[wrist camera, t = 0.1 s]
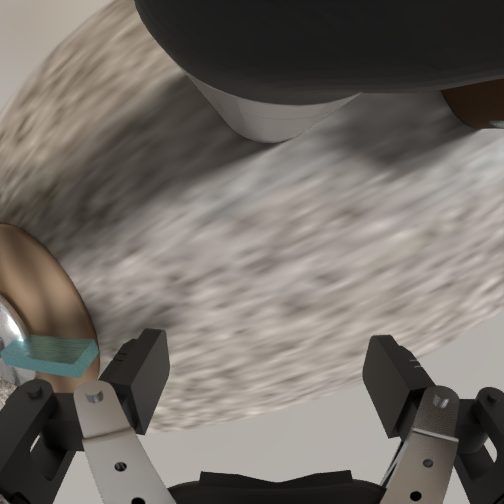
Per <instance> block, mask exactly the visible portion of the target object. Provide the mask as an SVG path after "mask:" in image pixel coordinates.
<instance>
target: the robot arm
mask: <svg viewBox="0 0 504 504" xmlns="http://www.w3.org/2000/svg"><path fill="white" fill-rule="evenodd" d="M134 1H135V5H136V9H137V11H138V13H139V15H140V18H141V20H142V21H143V23H144V25H145V26H146V28H147V29H148V31H149V32H150V34H151V35H152V36H153V37H154V39H155V40H156V41H157V42H158V44H159V45H160V46H161V47H162V48H163V49H164V50H165V51H166V53H167V54H168V55H169V56H170V57H171V58H172V59H173V60H174V61H175V63H176V64H177V65H178V66H179V67H180V68H181V69H182V71H183V72H184V73H185V74H186V75H187V76H188V77H189V78H190V79H191V81H192V82H193V83H194V84H195V85H196V86H197V88H198V89H199V90H200V91H201V92H202V94H203V95H204V96H205V97H206V98H207V100H208V101H209V102H210V103H211V104H212V106H213V107H214V108H215V109H216V111H217V112H218V113H219V114H220V116H221V117H222V118H223V119H224V121H225V122H226V123H227V124H228V125H229V126H230V127H231V128H232V129H233V130H234V131H235V132H236V133H238V134H240V135H241V136H243V137H245V138H247V139H250V140H253V141H256V142H262V143H279V142H283V141H287V140H290V139H292V138H295V137H296V136H298V135H300V134H301V133H303V132H304V131H306V130H307V129H309V128H310V127H312V126H313V125H315V124H316V123H318V122H319V121H321V120H322V119H324V118H325V117H327V116H328V115H330V114H331V113H333V112H334V111H336V110H337V109H339V108H340V107H342V106H343V105H345V104H346V103H348V102H349V101H351V100H352V99H354V98H355V97H357V96H358V95H360V94H361V93H416V92H428V91H436V90H443V89H448V88H453V87H459V86H464V85H469V84H474V83H479V82H484V81H489V80H495V79H501V78H504V0H134ZM169 371H170V362H169V354H168V346H167V337H166V332H165V331H164V330H159V329H150V328H146V329H144V331H143V332H142V334H141V335H140V337H139V338H138V339H132V340H130V341H128V342H127V343H125V344H124V345H123V346H122V347H121V348H120V350H119V351H118V352H117V354H116V355H115V357H114V358H113V360H112V361H111V362H110V364H109V365H108V366H107V368H106V369H105V371H104V372H103V373H102V375H101V376H100V378H99V379H98V380H93V381H88V382H85V383H83V384H81V385H80V386H78V387H77V388H76V390H75V392H74V393H55V392H54V390H53V387H52V385H51V384H50V383H49V382H48V381H46V380H43V379H33V380H29V381H27V382H25V383H24V384H22V385H21V386H20V387H19V389H18V390H17V391H16V392H15V393H14V395H13V396H12V397H11V398H10V399H9V401H8V402H7V403H6V404H5V406H4V407H3V408H2V409H1V411H0V504H53V501H54V499H55V497H56V495H57V492H58V490H59V488H60V486H61V483H62V481H63V479H64V477H65V474H66V472H67V470H68V468H69V466H70V464H71V461H72V459H73V457H74V455H75V453H76V451H85V453H86V457H87V460H88V463H89V466H90V469H91V471H92V474H93V477H94V480H95V482H96V485H97V488H98V491H99V493H100V495H101V498H102V501H103V503H104V504H443V500H444V497H445V494H446V491H447V487H448V484H449V480H450V476H451V473H452V469H453V465H454V467H455V469H456V471H457V474H458V476H459V478H460V481H461V483H462V485H463V488H464V490H465V492H466V495H467V497H468V500H469V502H470V504H504V393H503V392H502V391H500V390H499V389H496V388H493V387H485V388H483V389H481V390H480V391H479V392H478V394H477V396H476V398H475V399H459V397H458V395H457V394H456V392H454V391H453V390H452V389H450V388H448V387H445V386H436V385H435V384H434V382H433V381H432V380H431V378H430V377H429V375H428V374H427V373H426V371H425V370H424V369H423V367H421V365H420V363H419V362H418V361H417V359H416V358H415V357H414V355H413V354H412V353H411V352H410V351H409V350H407V349H406V348H404V347H403V346H399V345H398V344H397V342H396V341H395V340H394V338H393V337H392V336H391V335H374V336H372V337H371V339H370V342H369V346H368V350H367V354H366V358H365V362H364V366H363V381H364V384H365V386H366V388H367V390H368V393H369V395H370V397H371V399H372V401H373V404H374V406H375V408H376V411H377V413H378V415H379V417H380V420H381V422H382V424H383V427H384V429H385V432H386V434H387V436H388V438H393V437H399V436H400V438H401V442H400V444H399V445H398V448H397V450H396V452H395V454H394V456H393V459H392V461H391V463H390V465H389V467H388V469H387V471H386V473H385V475H384V477H383V479H382V481H381V483H380V484H379V485H378V484H375V483H372V482H368V481H363V480H357V479H352V475H351V471H350V470H345V471H337V472H327V473H316V474H312V475H308V476H304V477H301V478H297V479H293V480H289V481H284V482H270V481H265V480H260V479H256V478H251V477H247V476H243V475H239V474H224V473H212V472H203V471H201V474H200V480H199V481H192V482H186V483H182V484H178V485H175V486H172V487H169V488H166V487H165V485H164V483H163V482H162V480H161V478H160V477H159V475H158V473H157V472H156V470H155V468H154V466H153V465H152V463H151V461H150V459H149V457H148V456H147V454H146V452H145V450H144V448H143V446H142V444H141V442H140V441H139V439H138V437H137V435H136V434H140V435H145V433H146V431H147V428H148V426H149V423H150V421H151V418H152V416H153V413H154V411H155V408H156V406H157V403H158V401H159V399H160V396H161V394H162V391H163V389H164V386H165V384H166V382H167V379H168V376H169ZM38 435H39V436H40V438H39V439H38V441H37V443H36V444H35V446H34V447H33V449H32V451H31V452H30V449H31V446H32V444H33V443H34V441H35V439H36V438H37V436H38ZM488 437H489V438H490V439H491V441H492V443H493V444H494V446H495V448H496V450H497V459H496V461H495V463H494V462H493V460H492V458H491V457H490V455H489V453H488V451H487V449H486V448H485V446H484V443H485V442H486V440H487V439H488Z"/></svg>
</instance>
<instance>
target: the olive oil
mask: <svg viewBox="0 0 504 504" xmlns="http://www.w3.org/2000/svg"><path fill="white" fill-rule="evenodd" d="M442 92H443V94H444V97H445V99H446V101H447V103H448V104H449V106H450V108H451V109H452V110H453V112H454V113H455V114H456V115H457V116H458V118H459V119H461V120H462V121H463V122H464V123H466V124H467V125H469V126H471V127H474V128H480V129H491V128H500V129H504V78H501V79H495V80H489V81H484V82H479V83H474V84H469V85H464V86H459V87H453V88H448V89H443V90H442Z"/></svg>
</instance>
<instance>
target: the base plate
mask: <svg viewBox="0 0 504 504" xmlns="http://www.w3.org/2000/svg"><path fill="white" fill-rule="evenodd" d="M0 295H1V296H2V297H3V298H4V299H5V300H6V301H7V302H8V303H9V304H10V305H11V306H12V307H13V308H14V310H15V311H16V312H17V314H18V315H19V317H20V318H21V320H22V321H23V323H24V324H25V326H26V328H27V330H28V331H29V333H30V335H36V336H48V337H62V338H79V339H94V340H95V342H96V345H97V348H98V350H99V346H98V341H97V336H96V333H95V330H94V326H93V323H92V321H91V318H90V316H89V313H88V311H87V309H86V306H85V304H84V302H83V300H82V298H81V296H80V294H79V293H78V291H77V289H76V287H75V286H74V284H73V282H72V281H71V279H70V278H69V276H68V275H67V273H66V272H65V270H64V269H63V267H62V266H61V265H60V264H59V262H58V261H57V260H56V259H55V257H54V256H53V255H52V254H51V253H50V252H49V251H48V250H47V249H46V247H45V246H43V245H42V244H41V243H40V242H39V241H38V240H37V239H36V238H34V237H33V236H32V235H30V234H29V233H27V232H26V231H24V230H22V229H20V228H18V227H16V226H13V225H10V224H5V223H0ZM99 369H100V354H99V353H98V355H97V356H96V357H95V359H94V360H93V361H92V363H91V364H90V365H89V367H88V368H87V370H86V371H85V372H84V374H83V375H82V376H81V378H74V377H67V376H61V375H54V374H48V373H43V372H38V374H37V376H36V377H35V378H34V379H43V380H46V381H48V382H49V383H50V384H51V385H52V387H53V390H54V392H55V393H74V392H75V390H76V388H77V387H78V386H80V385H81V384H83V383H85V382H88V381H93V380H97V378H98V374H99ZM19 387H20V386H18V387H17V388H16V389H15V391H14V392H13V393H12V394H11V395H10V396H9V398H8V399H7V400H6V401H5V403H7V402H8V401H9V399H10V398H11V397H12V396H13V395H14V393H15V392H16V391H17V390H18V389H19Z"/></svg>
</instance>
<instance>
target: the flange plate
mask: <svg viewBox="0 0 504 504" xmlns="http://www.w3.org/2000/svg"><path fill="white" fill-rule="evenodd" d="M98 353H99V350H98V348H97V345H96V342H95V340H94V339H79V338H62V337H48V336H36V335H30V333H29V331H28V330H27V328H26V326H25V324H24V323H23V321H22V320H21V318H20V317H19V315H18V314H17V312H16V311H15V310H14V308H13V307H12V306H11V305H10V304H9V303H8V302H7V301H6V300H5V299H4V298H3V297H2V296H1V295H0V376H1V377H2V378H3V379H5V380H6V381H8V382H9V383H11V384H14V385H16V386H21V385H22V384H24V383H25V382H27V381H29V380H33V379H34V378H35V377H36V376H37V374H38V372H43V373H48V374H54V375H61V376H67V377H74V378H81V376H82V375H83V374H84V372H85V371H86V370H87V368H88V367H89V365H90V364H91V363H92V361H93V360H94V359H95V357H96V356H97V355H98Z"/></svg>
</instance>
